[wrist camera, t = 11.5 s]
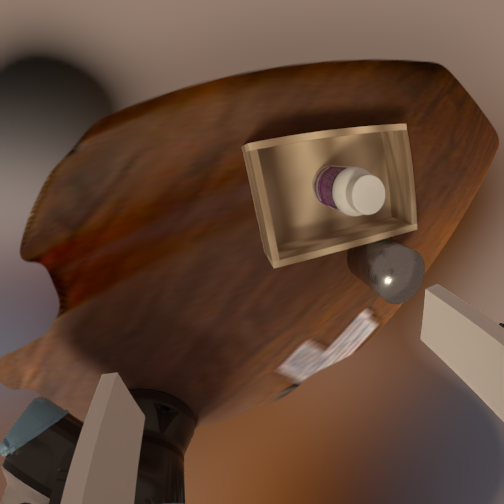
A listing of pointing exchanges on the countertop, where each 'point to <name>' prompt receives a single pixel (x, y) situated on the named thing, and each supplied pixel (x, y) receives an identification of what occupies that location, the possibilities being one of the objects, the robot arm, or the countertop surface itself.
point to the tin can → (388, 269)
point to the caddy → (309, 208)
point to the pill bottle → (348, 190)
